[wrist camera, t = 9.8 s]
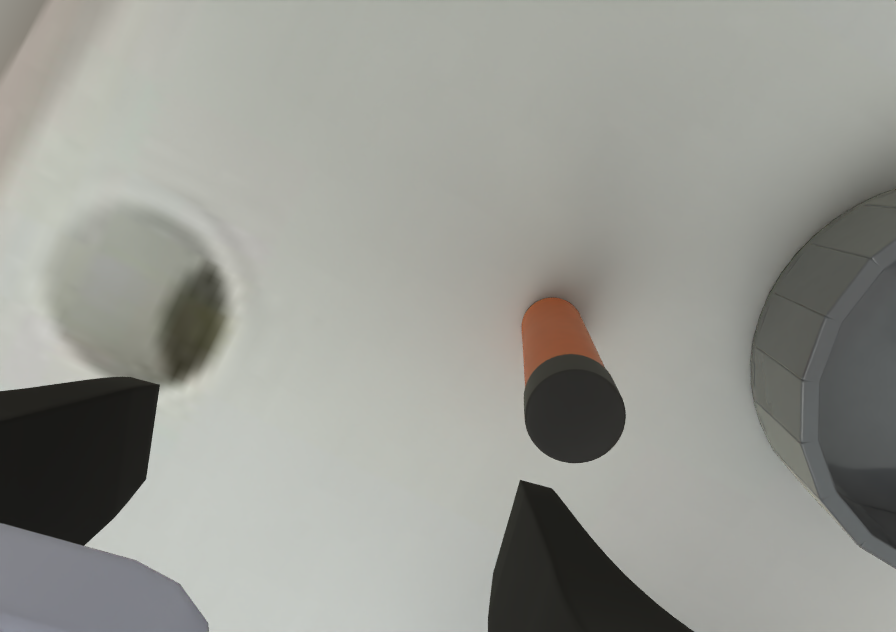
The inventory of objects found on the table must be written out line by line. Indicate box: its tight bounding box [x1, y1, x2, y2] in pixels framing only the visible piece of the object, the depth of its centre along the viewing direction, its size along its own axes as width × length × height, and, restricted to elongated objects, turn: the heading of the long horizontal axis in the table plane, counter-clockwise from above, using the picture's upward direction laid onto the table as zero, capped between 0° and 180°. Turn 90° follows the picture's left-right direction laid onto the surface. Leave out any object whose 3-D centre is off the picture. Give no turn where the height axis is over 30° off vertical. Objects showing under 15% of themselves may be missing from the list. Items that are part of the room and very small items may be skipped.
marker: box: [522, 298, 626, 463], centre depth 18 cm, size 2×2×8 cm
